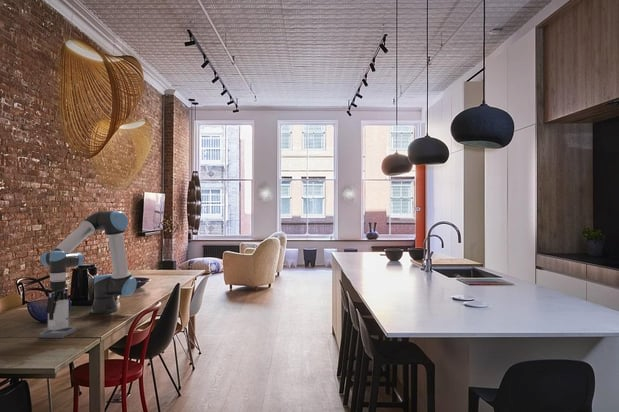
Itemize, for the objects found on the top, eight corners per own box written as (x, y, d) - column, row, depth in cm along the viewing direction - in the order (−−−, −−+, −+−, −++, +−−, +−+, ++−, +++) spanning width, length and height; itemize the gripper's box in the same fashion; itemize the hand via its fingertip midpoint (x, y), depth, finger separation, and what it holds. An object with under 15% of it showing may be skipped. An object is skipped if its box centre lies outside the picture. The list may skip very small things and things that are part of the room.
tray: (53, 331, 255) (53, 327, 255) (76, 331, 254) (76, 327, 254) (39, 337, 242) (39, 333, 242) (63, 337, 242) (63, 333, 242)
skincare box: (54, 331, 243) (53, 302, 243) (47, 329, 246) (46, 300, 246) (69, 327, 250) (69, 299, 250) (62, 325, 253) (62, 298, 253)
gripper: (63, 277, 259) (63, 318, 259) (37, 284, 237) (37, 328, 237) (76, 277, 259) (76, 318, 259) (52, 284, 237) (52, 328, 237)
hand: (58, 323), depth 248 cm, fingers closed on skincare box, 10 cm apart
